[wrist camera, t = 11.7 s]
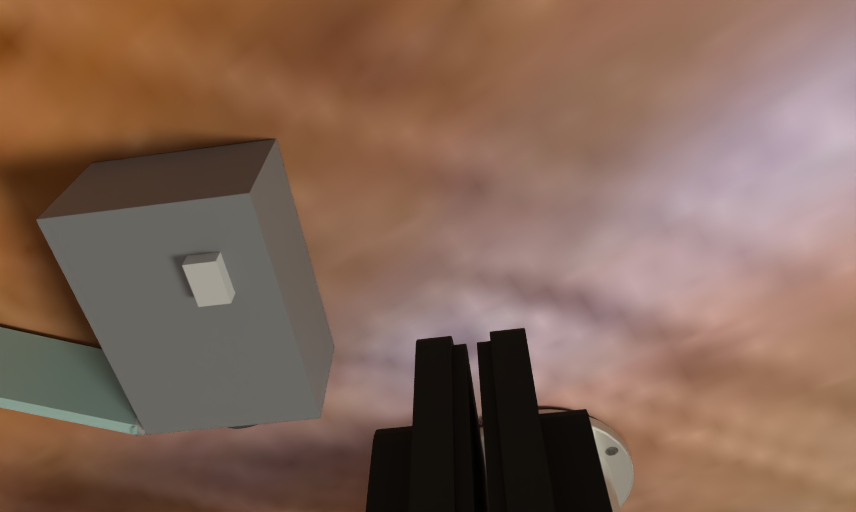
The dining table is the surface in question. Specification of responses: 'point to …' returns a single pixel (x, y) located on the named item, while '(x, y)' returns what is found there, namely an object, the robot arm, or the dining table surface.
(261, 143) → the box
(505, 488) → the robot arm
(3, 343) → the door
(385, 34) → the dining table surface
